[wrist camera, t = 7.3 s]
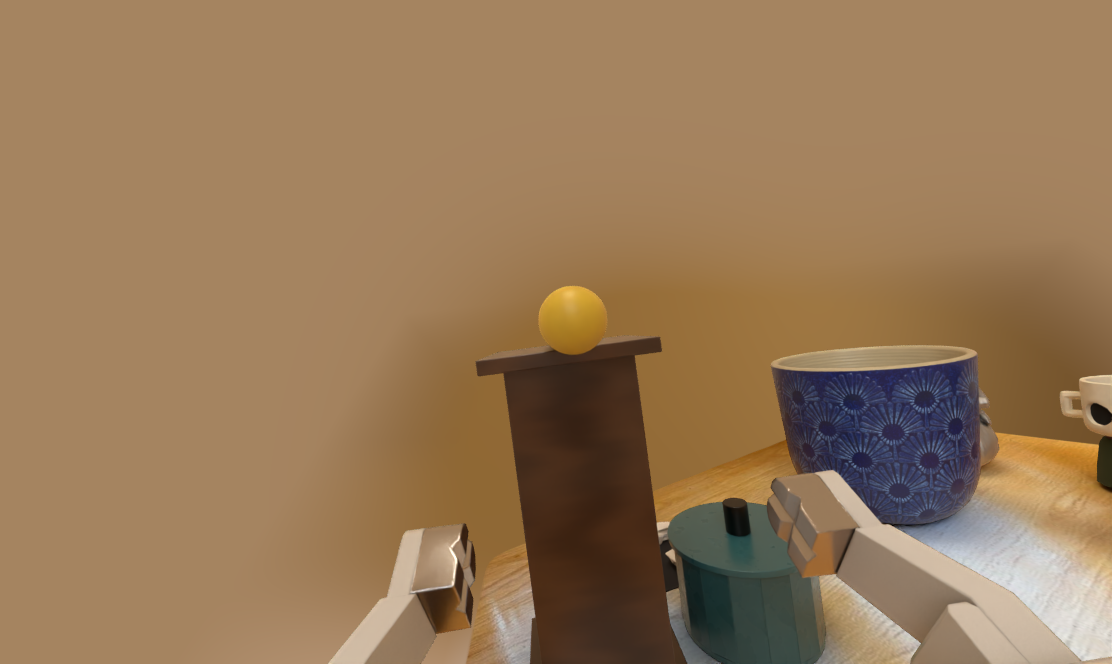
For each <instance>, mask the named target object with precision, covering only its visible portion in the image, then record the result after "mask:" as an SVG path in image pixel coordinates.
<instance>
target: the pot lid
mask: <svg viewBox="0 0 1112 664" xmlns="http://www.w3.org/2000/svg"><path fill="white" fill-rule="evenodd" d="M667 534H668V540H669V543H670V545H671V547H672V548H673V550H674V551H675V552H676V553H677V554H678V555H679V556H680V557H682V558H683V559H684V560H686V561H688V562H689V563H691V564H693V565H695V566H697V567H699V568H702V569H705V570H708V571H710V572H714V573H718V574H722V575H727V576H732V577H741V578H772V577H779V576H784V575H789V574H792V573H795V572H798V570H797V568H796V566H795V565H794V563H793V561H792V560H791V558H790V557H789V555H788V553H787V548H788V543H787V542H785V541H784V540H782V539H781V538H779V537H778V536H777V535H776V533H775V531H774V530H773V528H772V526H771V523H770V521H769V518H768V513H767V505H762V504H756V503H747V502H746V501H745V500H743V499H739V498H728V499H725V500H724V501H723V502H716V503H709V504H703V505H699V506H695V507H692V508H690V509H687V510H685V511H683V512H681V513H679V514H678V515H677V516H675V517H674V518H673V519H672V521H671V522H670V524H669V526H668V531H667Z"/></svg>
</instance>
